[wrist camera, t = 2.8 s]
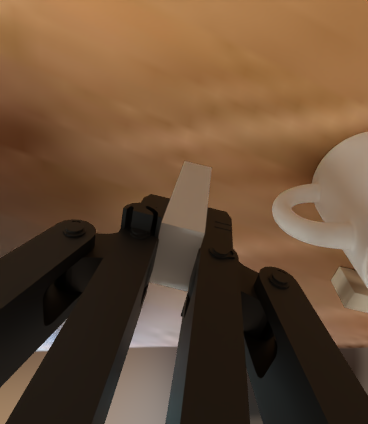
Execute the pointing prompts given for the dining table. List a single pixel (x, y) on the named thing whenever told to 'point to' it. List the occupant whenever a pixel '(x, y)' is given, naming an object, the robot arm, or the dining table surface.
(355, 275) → the dock
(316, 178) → the mug
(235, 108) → the dining table surface
